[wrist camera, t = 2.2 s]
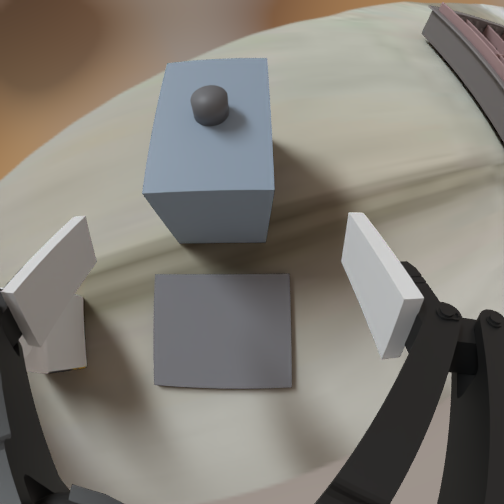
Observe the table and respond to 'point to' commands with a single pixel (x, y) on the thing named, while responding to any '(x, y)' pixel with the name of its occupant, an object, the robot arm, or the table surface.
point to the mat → (222, 330)
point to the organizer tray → (472, 56)
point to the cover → (213, 151)
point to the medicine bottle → (60, 343)
